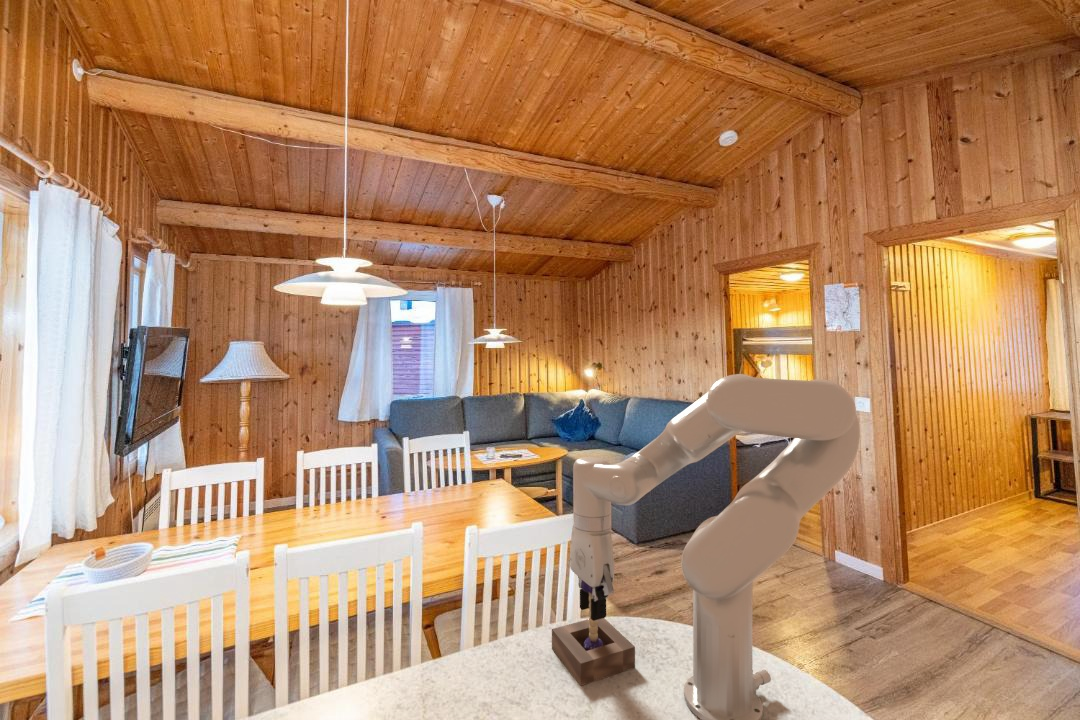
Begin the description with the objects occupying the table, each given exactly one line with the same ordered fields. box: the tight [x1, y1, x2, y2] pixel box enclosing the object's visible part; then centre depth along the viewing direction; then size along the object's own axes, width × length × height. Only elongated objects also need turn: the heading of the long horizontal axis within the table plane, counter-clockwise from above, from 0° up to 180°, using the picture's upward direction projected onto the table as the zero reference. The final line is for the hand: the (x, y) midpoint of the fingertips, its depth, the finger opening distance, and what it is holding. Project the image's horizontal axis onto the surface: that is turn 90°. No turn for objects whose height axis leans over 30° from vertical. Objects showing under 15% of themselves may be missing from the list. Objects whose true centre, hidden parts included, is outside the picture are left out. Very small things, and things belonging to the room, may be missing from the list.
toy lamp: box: [580, 580, 604, 651], centre depth 92 cm, size 5×5×17 cm
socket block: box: [551, 617, 636, 686], centre depth 92 cm, size 12×12×4 cm
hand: (592, 612), depth 92 cm, fingers closed on toy lamp, 3 cm apart
